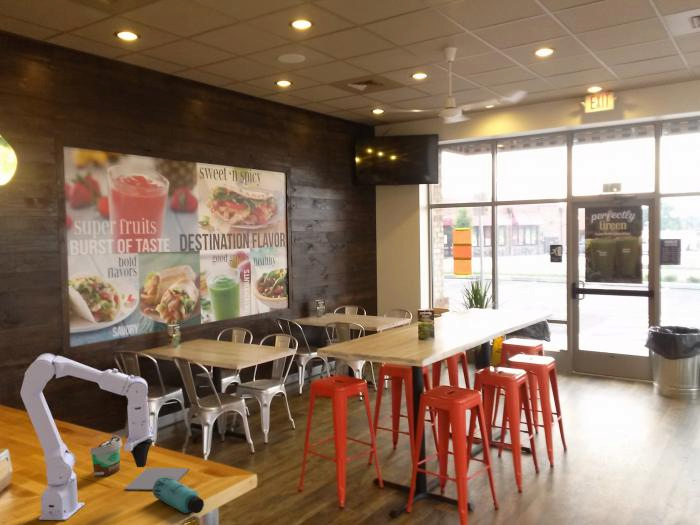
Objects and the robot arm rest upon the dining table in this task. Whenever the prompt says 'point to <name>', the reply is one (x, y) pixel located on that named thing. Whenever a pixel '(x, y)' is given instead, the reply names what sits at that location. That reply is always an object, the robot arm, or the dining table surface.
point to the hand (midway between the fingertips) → (141, 466)
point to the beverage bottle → (177, 495)
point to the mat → (155, 477)
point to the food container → (106, 457)
